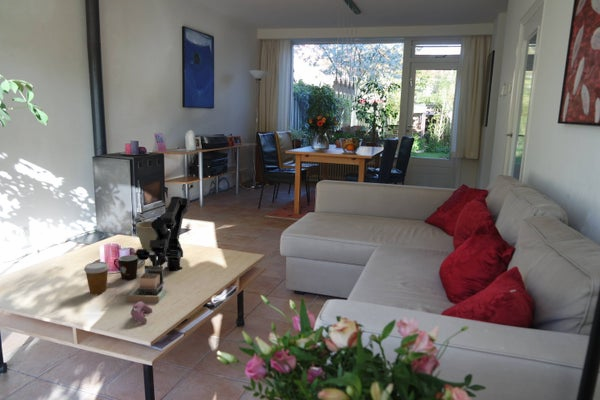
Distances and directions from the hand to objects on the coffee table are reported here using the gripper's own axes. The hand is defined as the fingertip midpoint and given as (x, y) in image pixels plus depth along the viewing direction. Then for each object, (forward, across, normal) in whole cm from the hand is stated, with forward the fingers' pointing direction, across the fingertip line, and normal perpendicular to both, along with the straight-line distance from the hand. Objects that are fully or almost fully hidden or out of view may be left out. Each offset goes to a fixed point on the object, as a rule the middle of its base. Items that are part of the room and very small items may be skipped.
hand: (154, 272), depth 190 cm
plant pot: (-32, -20, +43) cm, 57 cm away
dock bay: (+13, 0, -1) cm, 13 cm away
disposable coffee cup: (+9, -23, +2) cm, 25 cm away
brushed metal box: (+8, 0, +2) cm, 9 cm away
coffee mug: (-4, -17, +15) cm, 23 cm away
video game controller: (+26, +5, -14) cm, 29 cm away
